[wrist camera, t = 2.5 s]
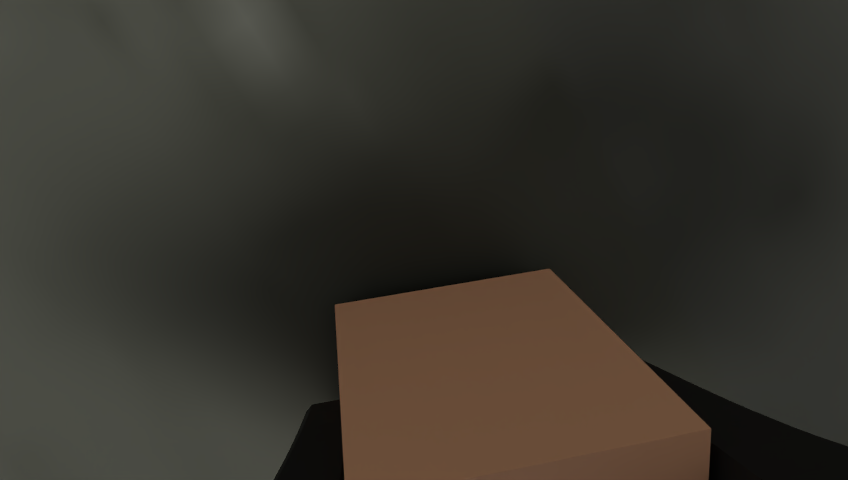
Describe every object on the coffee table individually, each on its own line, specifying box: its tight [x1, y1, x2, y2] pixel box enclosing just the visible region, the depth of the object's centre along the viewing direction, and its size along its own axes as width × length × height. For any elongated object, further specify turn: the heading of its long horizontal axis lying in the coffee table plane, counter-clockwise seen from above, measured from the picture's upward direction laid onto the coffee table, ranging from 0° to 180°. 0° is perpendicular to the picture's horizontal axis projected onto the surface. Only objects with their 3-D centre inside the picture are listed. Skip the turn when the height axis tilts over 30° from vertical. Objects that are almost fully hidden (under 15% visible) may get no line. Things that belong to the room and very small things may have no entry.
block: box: [335, 269, 711, 480], centre depth 9 cm, size 4×4×5 cm
